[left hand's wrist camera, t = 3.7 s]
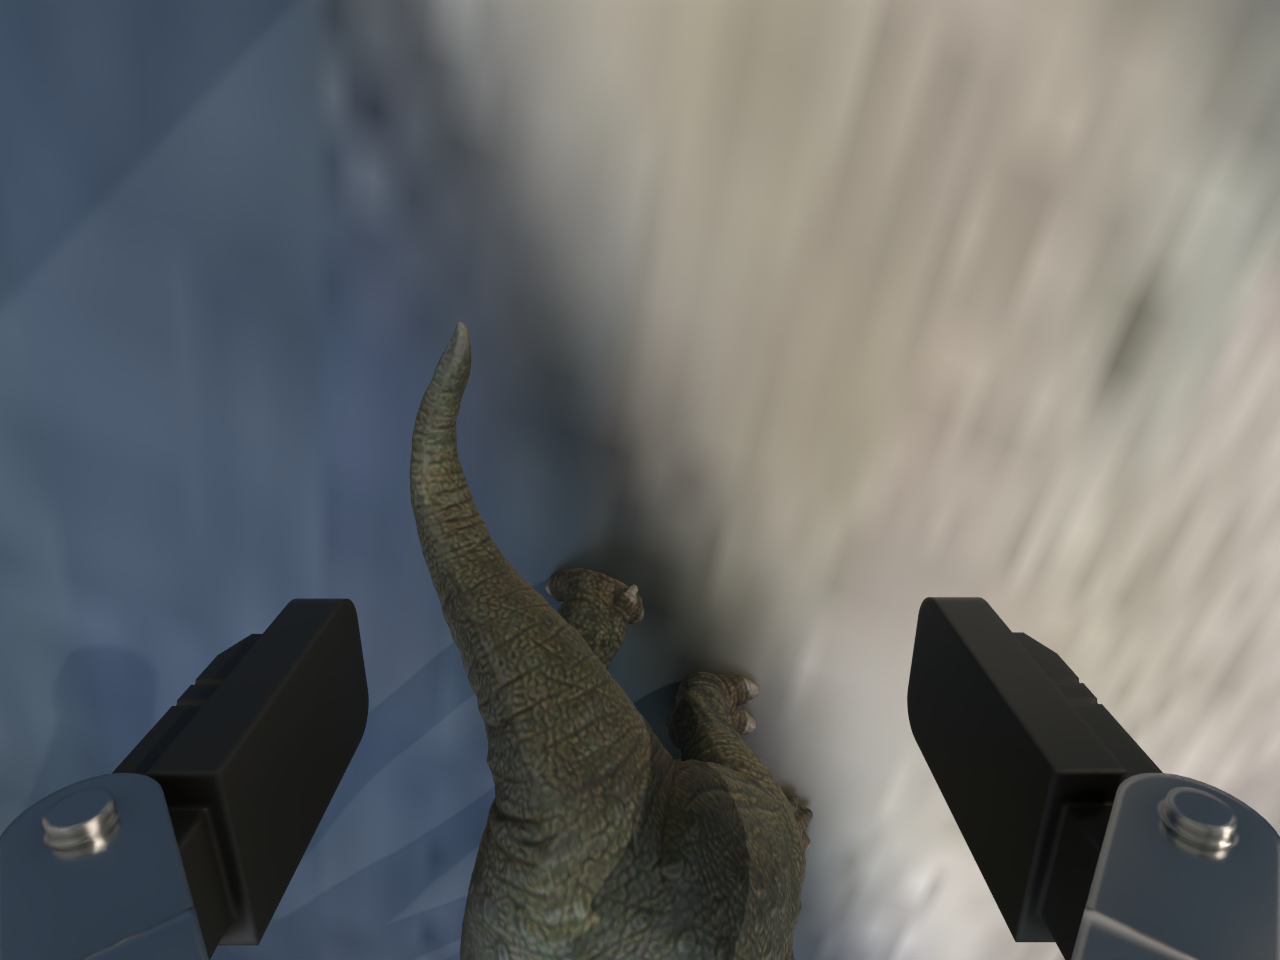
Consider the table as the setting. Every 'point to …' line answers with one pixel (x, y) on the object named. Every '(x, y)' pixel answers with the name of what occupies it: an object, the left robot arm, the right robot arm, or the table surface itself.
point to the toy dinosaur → (596, 758)
